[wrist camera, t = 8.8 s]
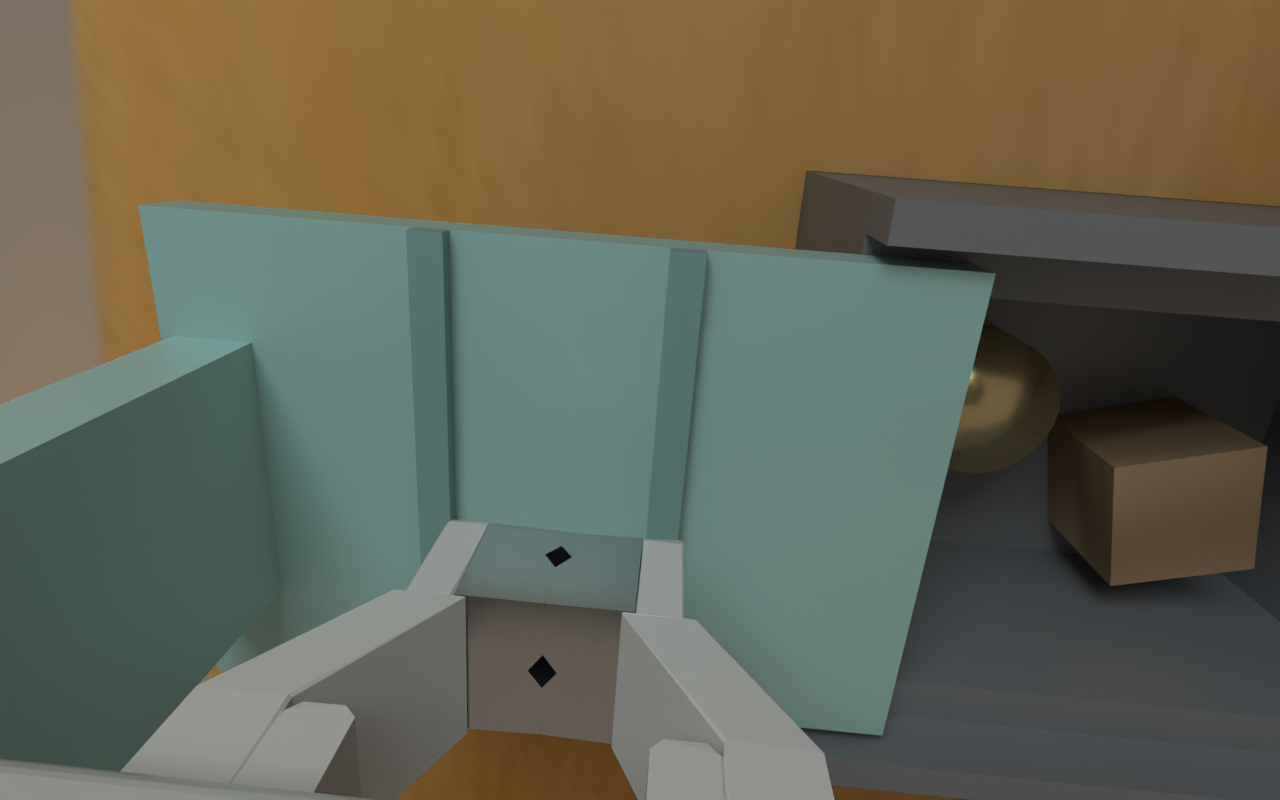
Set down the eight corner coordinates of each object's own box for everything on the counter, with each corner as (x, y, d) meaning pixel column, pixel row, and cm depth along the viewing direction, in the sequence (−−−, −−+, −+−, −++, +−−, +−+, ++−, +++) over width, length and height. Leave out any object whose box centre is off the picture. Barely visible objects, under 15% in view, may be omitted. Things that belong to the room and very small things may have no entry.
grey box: (806, 170, 16) (895, 198, 9) (1361, 212, 16) (1878, 273, 9) (750, 556, 19) (785, 781, 13) (1201, 598, 19) (1483, 851, 12)
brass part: (886, 300, 16) (926, 333, 14) (1013, 309, 16) (1077, 343, 13) (866, 415, 17) (899, 467, 14) (984, 425, 17) (1039, 478, 14)
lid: (175, 200, 11) (-330, 266, 5) (973, 263, 11) (1279, 402, 5) (243, 640, 14) (-44, 970, 8) (871, 702, 13) (999, 1089, 8)
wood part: (1047, 415, 17) (1114, 468, 14) (1174, 396, 17) (1267, 446, 14) (1047, 519, 18) (1110, 585, 15) (1168, 503, 17) (1253, 568, 15)
